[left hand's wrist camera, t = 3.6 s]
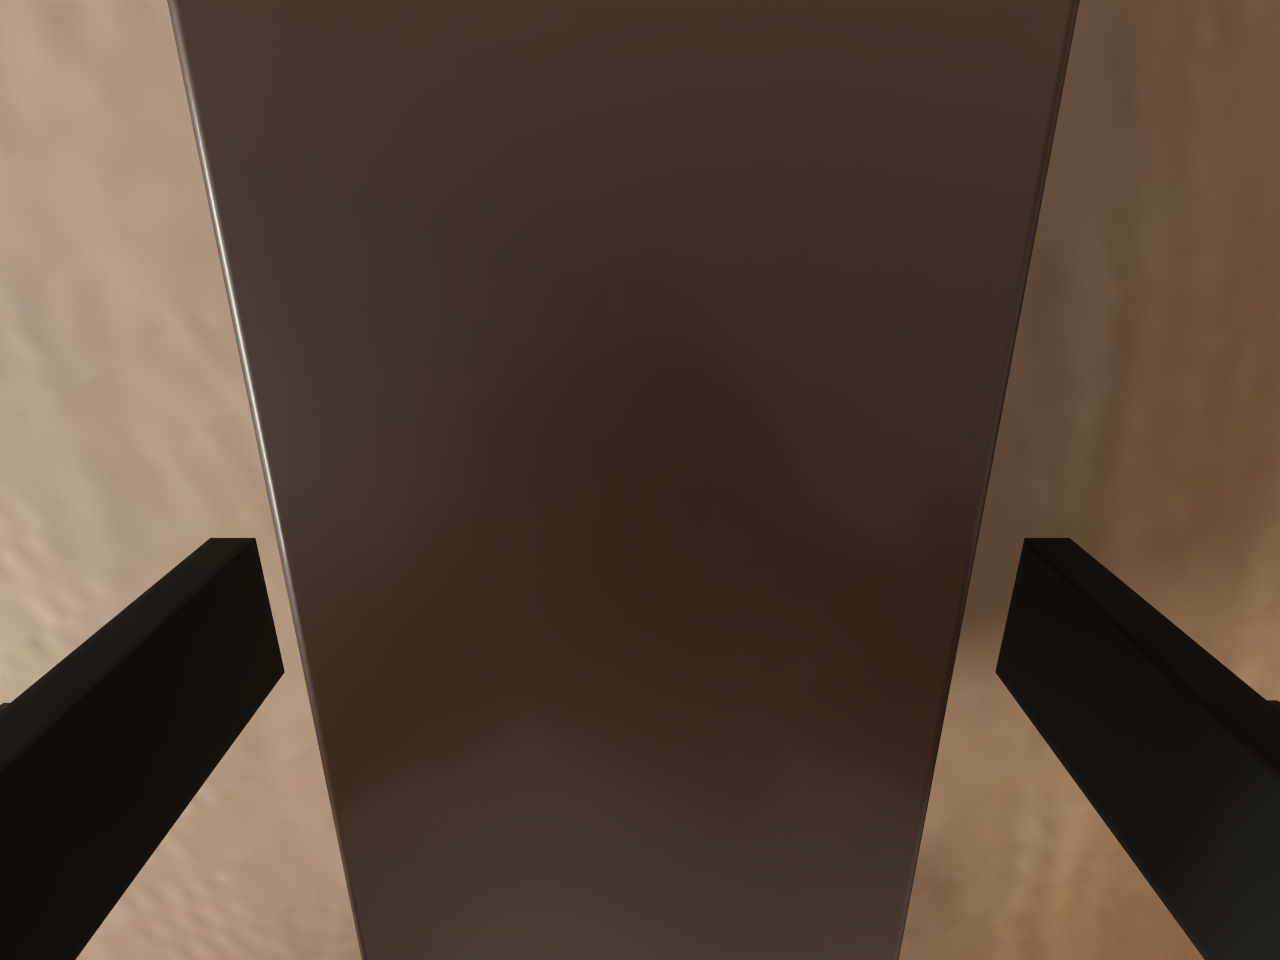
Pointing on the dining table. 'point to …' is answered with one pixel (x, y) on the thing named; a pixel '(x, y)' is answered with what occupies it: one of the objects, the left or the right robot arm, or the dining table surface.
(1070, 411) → the dining table surface
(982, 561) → the dining table surface
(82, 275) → the dining table surface
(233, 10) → the beam
